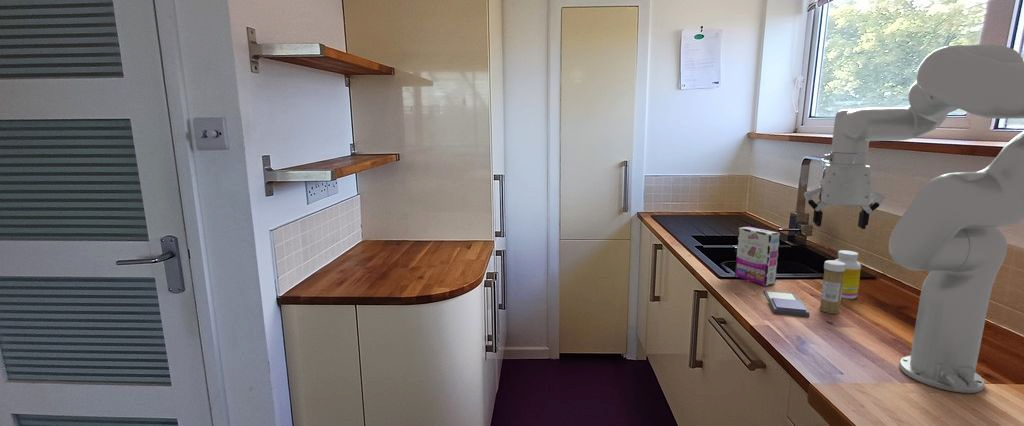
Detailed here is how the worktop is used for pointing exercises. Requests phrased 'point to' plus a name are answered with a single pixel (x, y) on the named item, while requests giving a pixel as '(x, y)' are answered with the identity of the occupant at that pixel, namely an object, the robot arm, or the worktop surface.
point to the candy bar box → (757, 255)
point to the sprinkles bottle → (832, 286)
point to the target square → (779, 295)
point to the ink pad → (788, 307)
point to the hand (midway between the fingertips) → (839, 226)
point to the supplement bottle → (850, 273)
